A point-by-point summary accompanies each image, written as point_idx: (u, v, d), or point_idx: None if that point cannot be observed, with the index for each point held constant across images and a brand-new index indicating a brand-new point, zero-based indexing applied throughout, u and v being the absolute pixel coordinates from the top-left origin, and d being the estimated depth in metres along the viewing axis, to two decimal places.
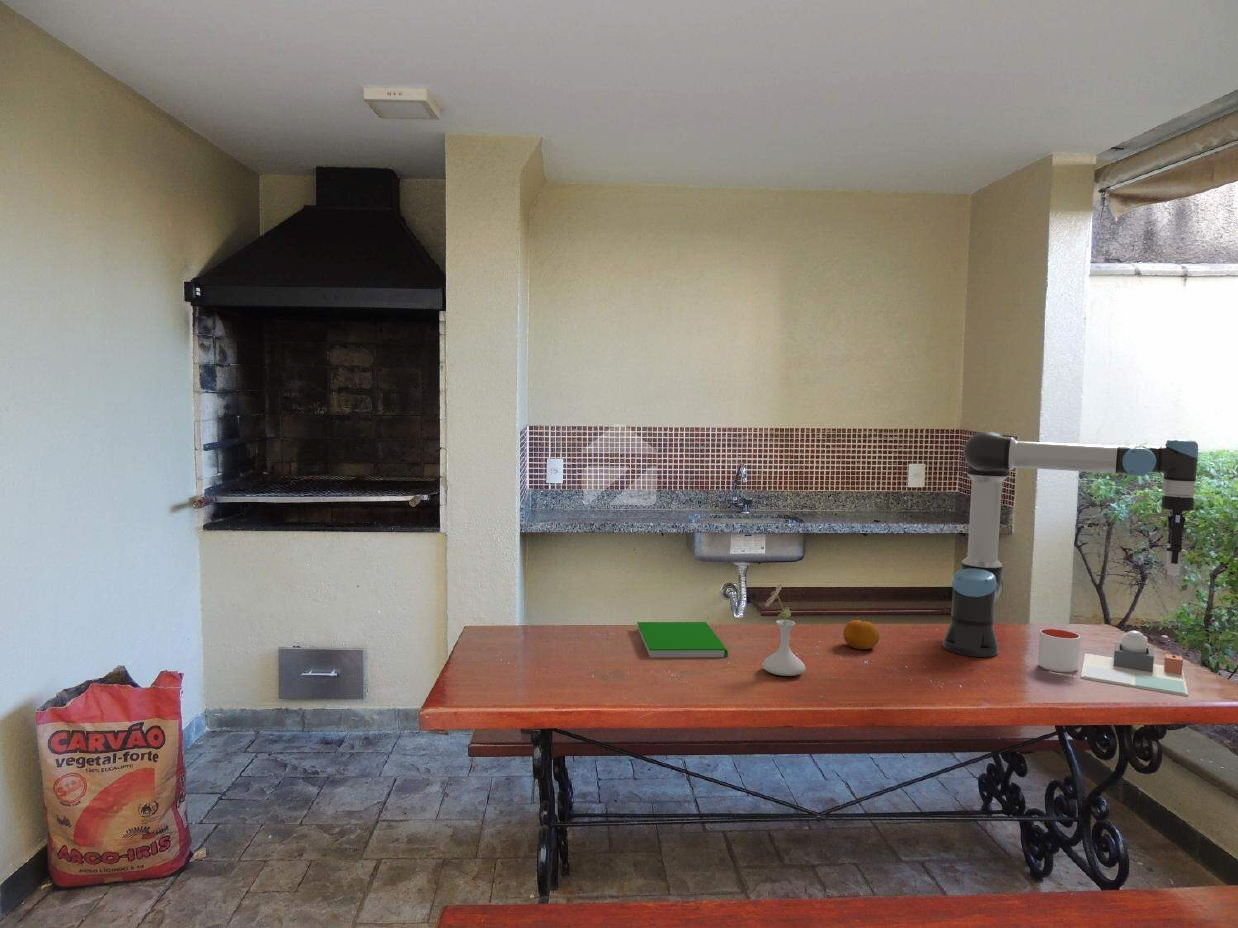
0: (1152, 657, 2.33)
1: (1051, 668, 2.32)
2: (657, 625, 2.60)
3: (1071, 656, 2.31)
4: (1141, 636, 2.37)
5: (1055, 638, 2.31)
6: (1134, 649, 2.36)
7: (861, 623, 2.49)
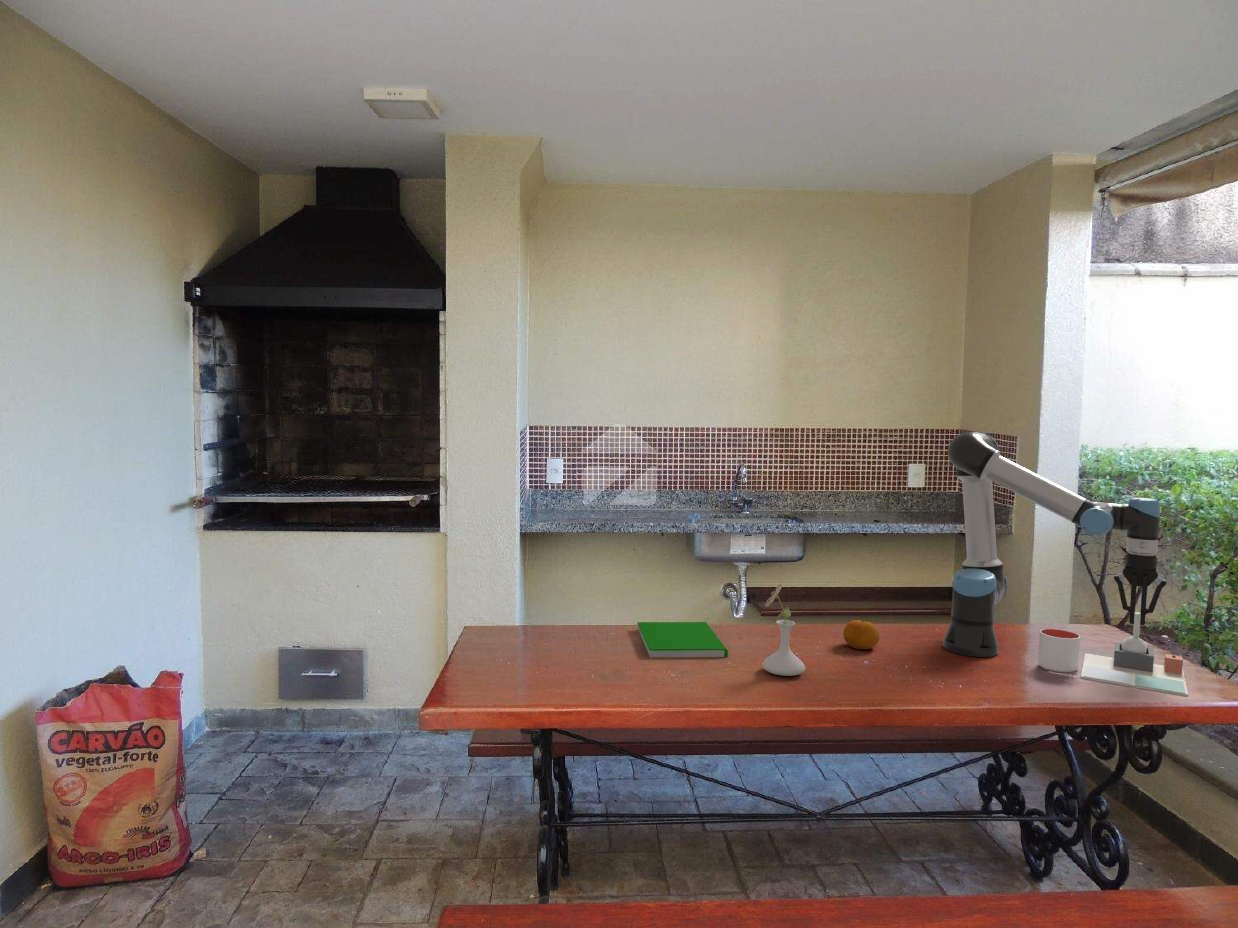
0: (1152, 657, 2.33)
1: (1051, 668, 2.32)
2: (657, 625, 2.60)
3: (1071, 656, 2.31)
4: (1141, 641, 2.37)
5: (1055, 638, 2.31)
6: None
7: (861, 623, 2.49)
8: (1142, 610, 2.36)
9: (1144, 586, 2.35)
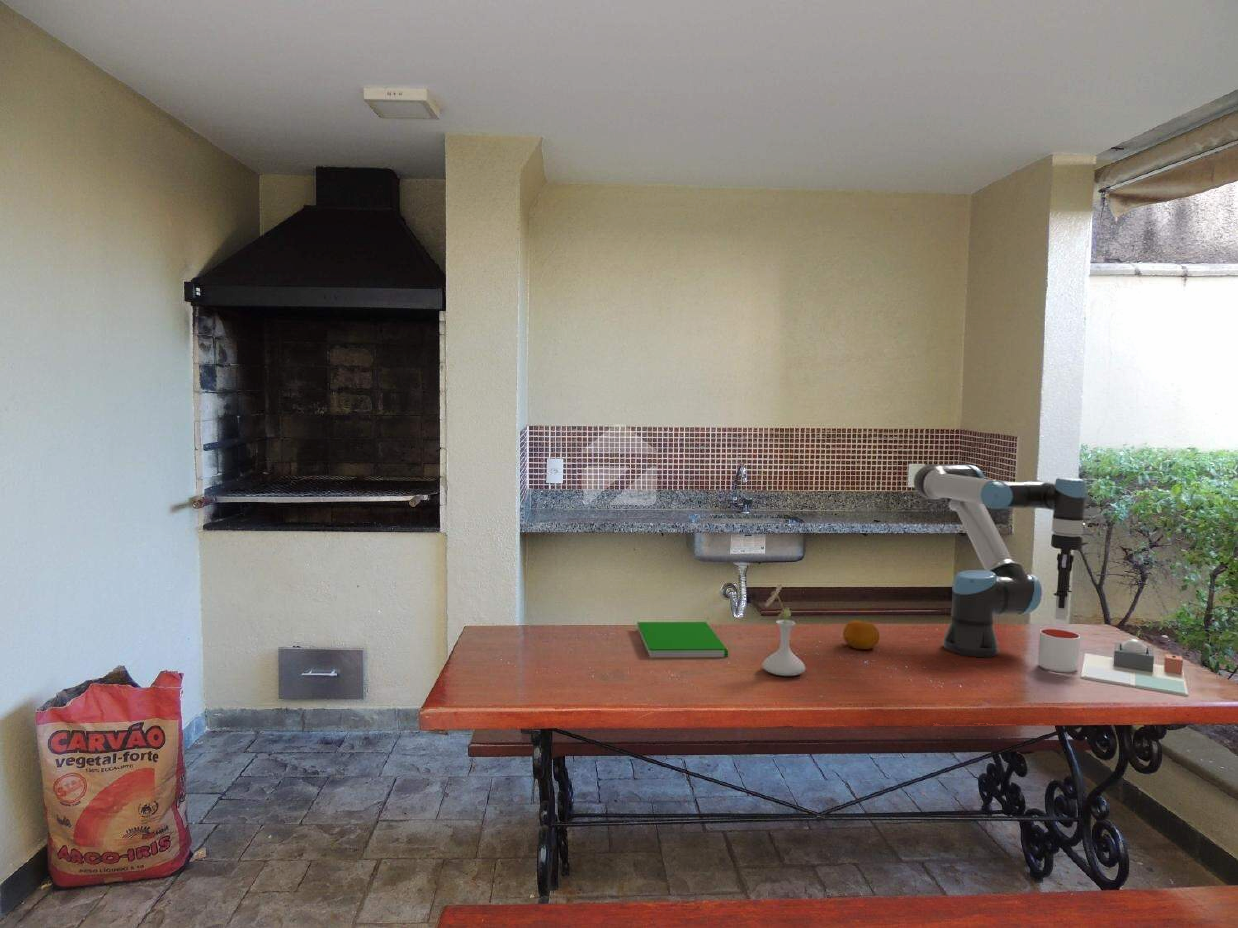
0: (1152, 657, 2.33)
1: (1051, 668, 2.32)
2: (657, 625, 2.60)
3: (1071, 656, 2.31)
4: (1140, 645, 2.37)
5: (1055, 638, 2.31)
6: None
7: (861, 623, 2.49)
8: (1068, 588, 2.36)
9: None
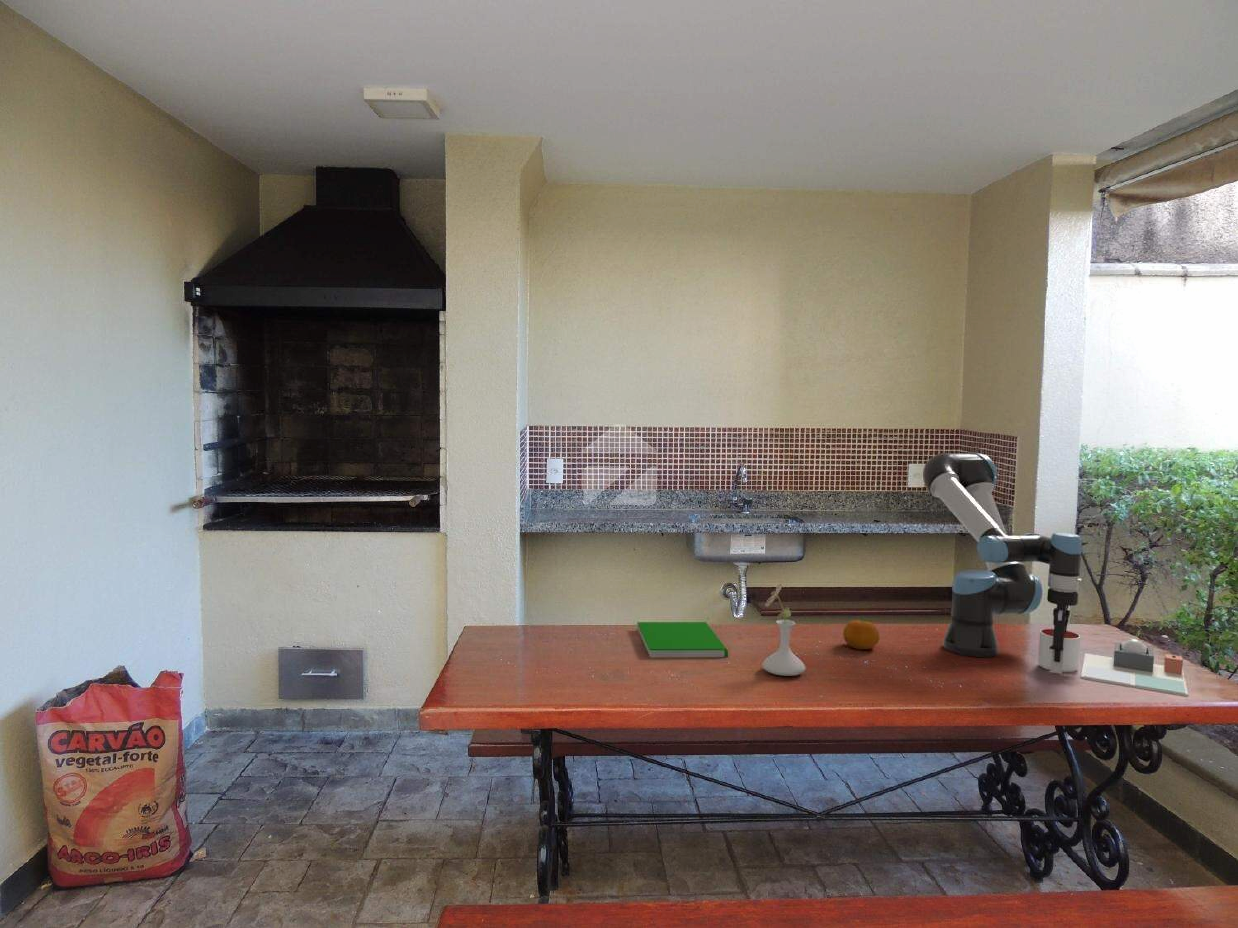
0: (1152, 657, 2.33)
1: None
2: (657, 625, 2.60)
3: (1071, 656, 2.31)
4: (1140, 645, 2.37)
5: None
6: None
7: (861, 623, 2.49)
8: None
9: (1068, 618, 2.36)
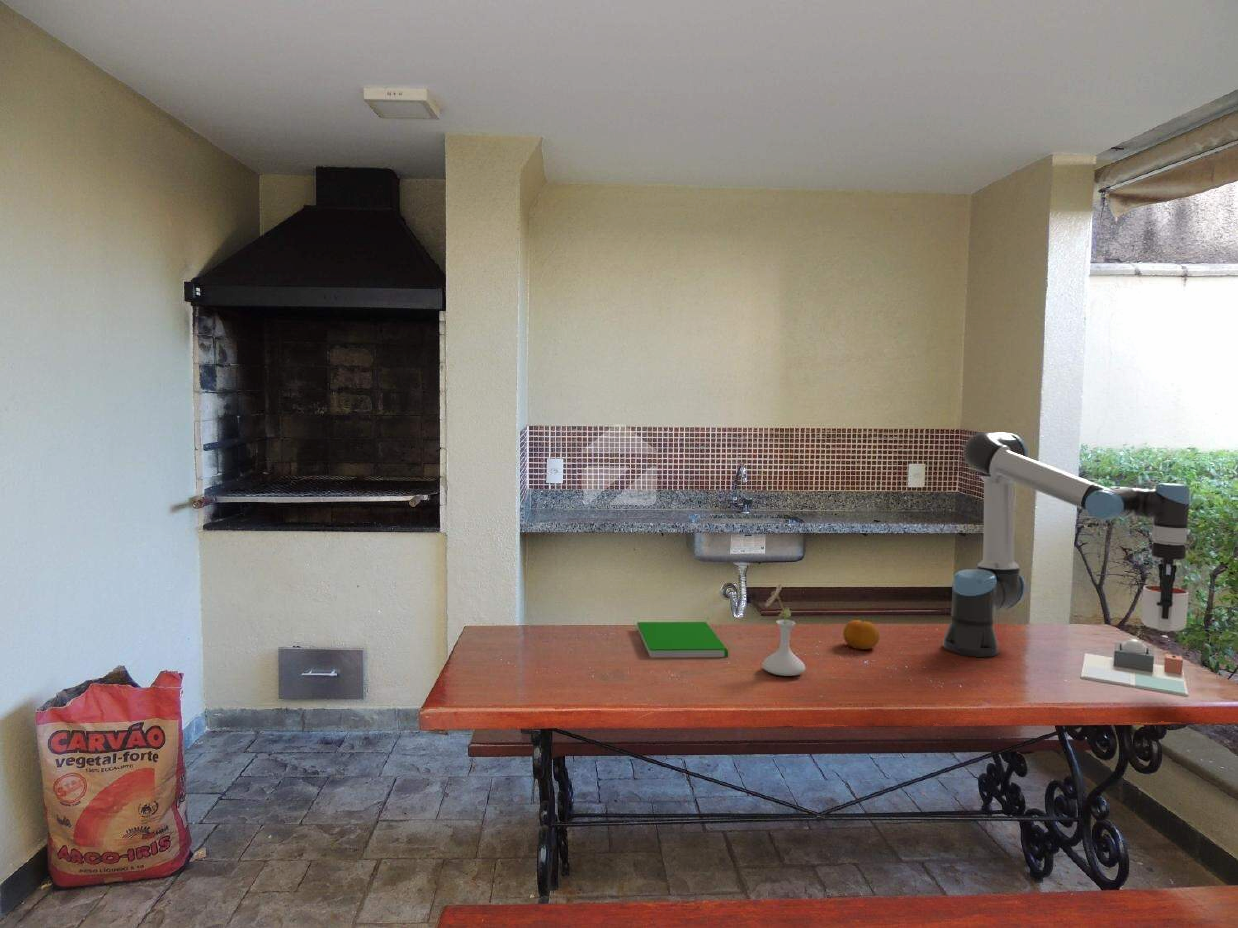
0: (1152, 657, 2.33)
1: None
2: (657, 625, 2.60)
3: (1180, 612, 2.17)
4: (1140, 645, 2.37)
5: None
6: None
7: (861, 623, 2.49)
8: None
9: None
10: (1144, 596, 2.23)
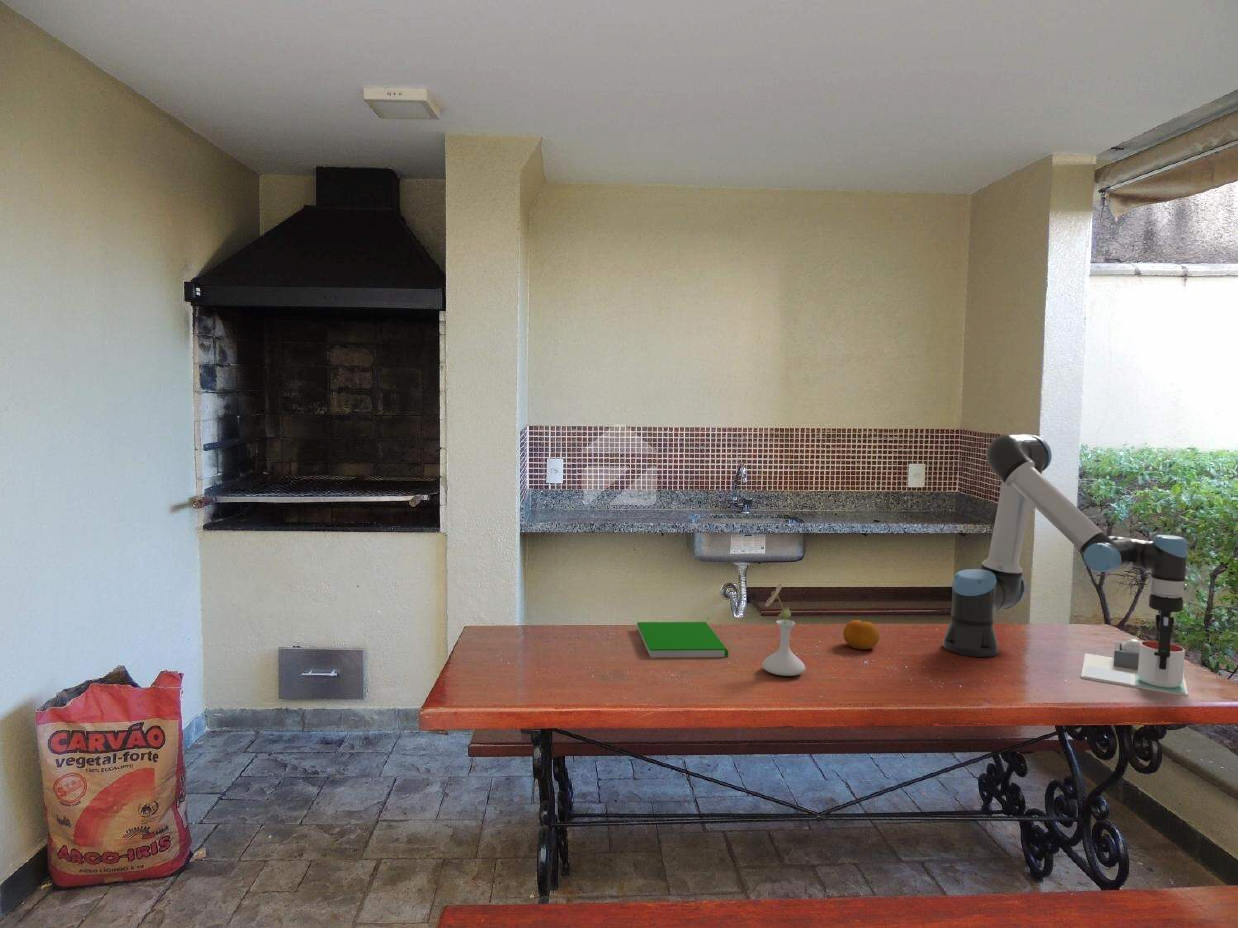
0: None
1: (1154, 683, 2.20)
2: (656, 626, 2.60)
3: (1176, 670, 2.18)
4: None
5: None
6: None
7: (861, 623, 2.49)
8: None
9: None
10: (1141, 652, 2.24)
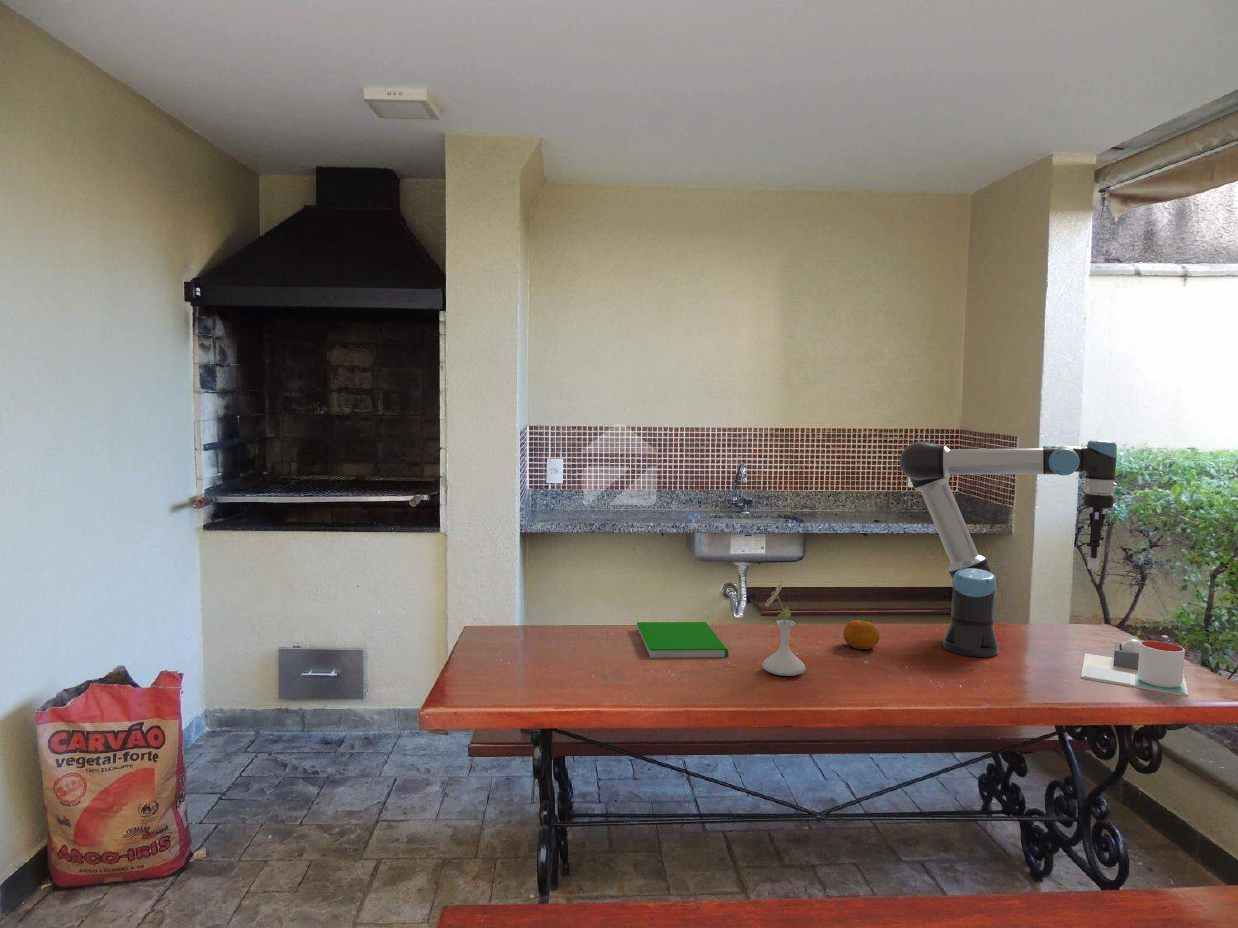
0: None
1: (1154, 683, 2.20)
2: (656, 626, 2.60)
3: (1176, 670, 2.18)
4: None
5: (1159, 651, 2.19)
6: None
7: (861, 623, 2.49)
8: (1100, 537, 2.53)
9: (1103, 521, 2.48)
10: (1141, 652, 2.24)
